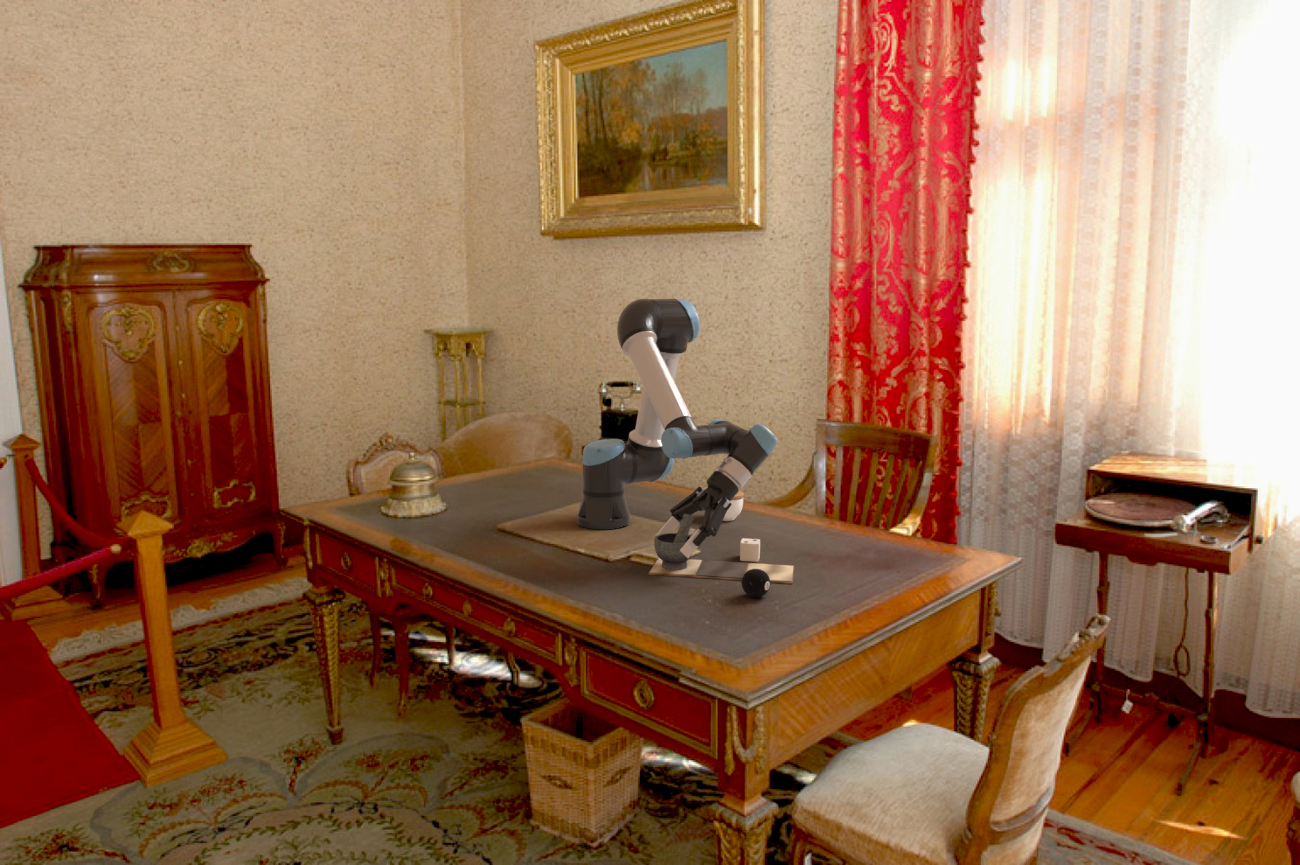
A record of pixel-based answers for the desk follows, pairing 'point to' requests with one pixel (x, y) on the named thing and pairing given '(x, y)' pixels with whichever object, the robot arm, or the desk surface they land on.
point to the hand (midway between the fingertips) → (670, 547)
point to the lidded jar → (734, 507)
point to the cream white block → (750, 550)
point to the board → (726, 570)
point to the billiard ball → (755, 582)
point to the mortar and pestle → (674, 546)
